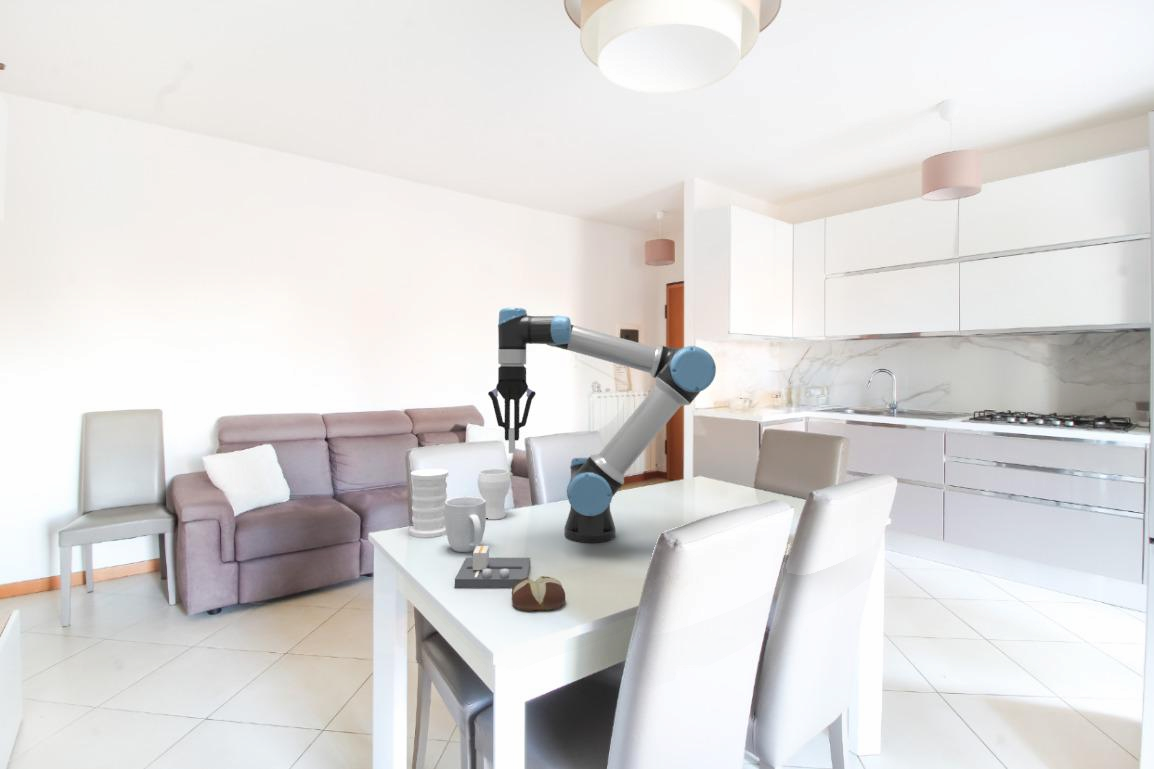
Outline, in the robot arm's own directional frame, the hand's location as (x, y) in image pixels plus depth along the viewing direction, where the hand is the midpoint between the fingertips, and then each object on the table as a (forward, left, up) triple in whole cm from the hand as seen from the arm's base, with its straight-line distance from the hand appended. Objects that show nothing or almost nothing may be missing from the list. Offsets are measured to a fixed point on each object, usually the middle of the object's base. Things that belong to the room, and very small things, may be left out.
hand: (511, 452), depth 150 cm
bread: (-9, +34, -27) cm, 44 cm away
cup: (+9, -32, -27) cm, 43 cm away
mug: (+12, +1, -27) cm, 29 cm away
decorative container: (+26, -15, -27) cm, 40 cm away
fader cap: (+5, +20, -24) cm, 32 cm away
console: (+2, +20, -26) cm, 33 cm away
